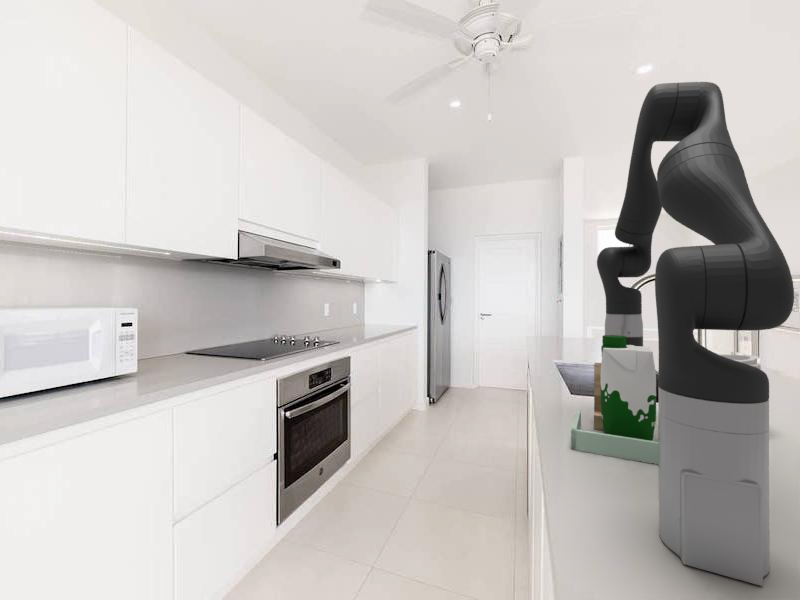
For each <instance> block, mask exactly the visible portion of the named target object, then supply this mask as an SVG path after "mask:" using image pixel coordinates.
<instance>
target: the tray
mask: <svg viewBox="0 0 800 600" xmlns="http://www.w3.org/2000/svg"><path fill="white" fill-rule="evenodd" d="M581 428H582V410H581V409H576V411H575V414H574V417H573V422H572V426H571V429H570V449H571V450H574V451H578V452H583V453H584V452H585V453H591V454H597V455H602V456H607V457H611V458H612V457H613V458H618V459H625V460H631V461H637V462H640V461H642V462H643V463H646V462H647V464H652V463H654V464H653V465H657V464H658V466H659V450H658V441H654V440H652V441H649V440H643V439H636V438H630V437H623V436H616V435H610V434H604V432H603V433H602V432H597V431H590V430H583V429H581Z"/></svg>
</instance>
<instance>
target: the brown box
mask: <svg viewBox="0 0 800 600" xmlns="http://www.w3.org/2000/svg"><path fill="white" fill-rule="evenodd" d="M593 366H594V367H593V370H594V372H593V378H594V379H593V387H594V388H593V394H594V396H593V402H594V403H593V405H594V409H593V410H594V411H593V430H597V431H603V432H604V429H603V422H602V416H601V375H600V374H601V362H594V364H593Z"/></svg>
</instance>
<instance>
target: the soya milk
mask: <svg viewBox="0 0 800 600" xmlns="http://www.w3.org/2000/svg"><path fill="white" fill-rule="evenodd" d="M600 363H601V374H600V375H601V416H602V422H603V429H604V431H603V434H610V435H616V436H623V437H630V438H636V439H643V440H649V441H654V440H653V439H654V435H655V434H654V433H655V428H656V422H657V377H656V376H657V373H656V366H655V359H654V354H653V350H652V348H651V347H650V346H645V345H643V346H634V345H626V336H618V335H605V334H604V335H602V345H601V361H600Z"/></svg>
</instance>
